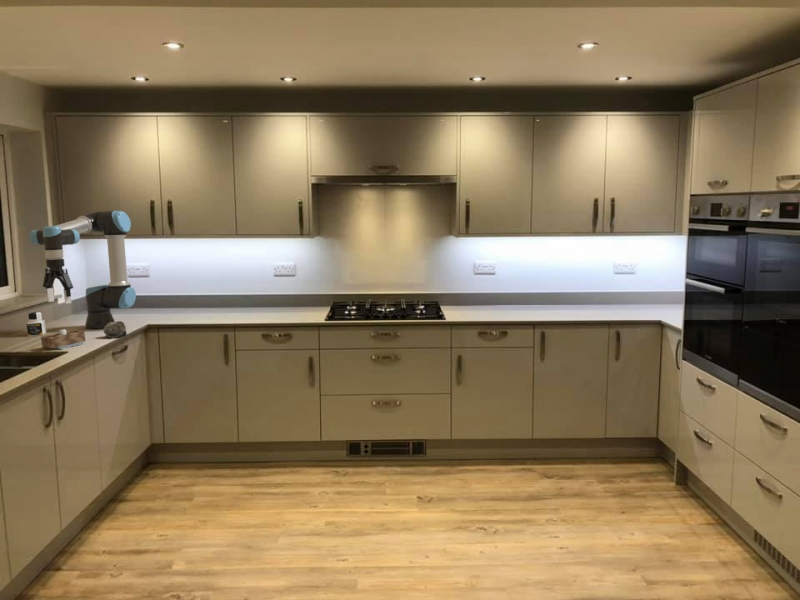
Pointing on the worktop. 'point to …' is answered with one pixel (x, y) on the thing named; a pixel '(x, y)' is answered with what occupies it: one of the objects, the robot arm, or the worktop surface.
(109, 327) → the fossil
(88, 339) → the worktop surface
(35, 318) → the medicine bottle
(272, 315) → the worktop surface
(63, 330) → the post block
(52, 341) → the brown textured block
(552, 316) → the worktop surface
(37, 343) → the worktop surface
